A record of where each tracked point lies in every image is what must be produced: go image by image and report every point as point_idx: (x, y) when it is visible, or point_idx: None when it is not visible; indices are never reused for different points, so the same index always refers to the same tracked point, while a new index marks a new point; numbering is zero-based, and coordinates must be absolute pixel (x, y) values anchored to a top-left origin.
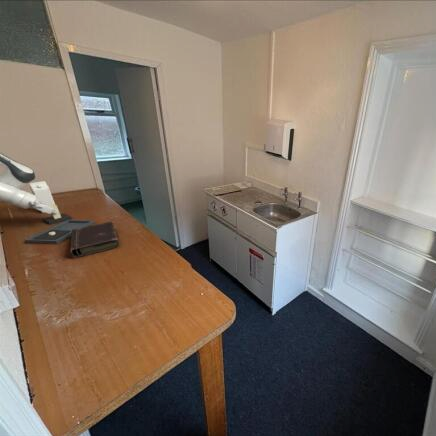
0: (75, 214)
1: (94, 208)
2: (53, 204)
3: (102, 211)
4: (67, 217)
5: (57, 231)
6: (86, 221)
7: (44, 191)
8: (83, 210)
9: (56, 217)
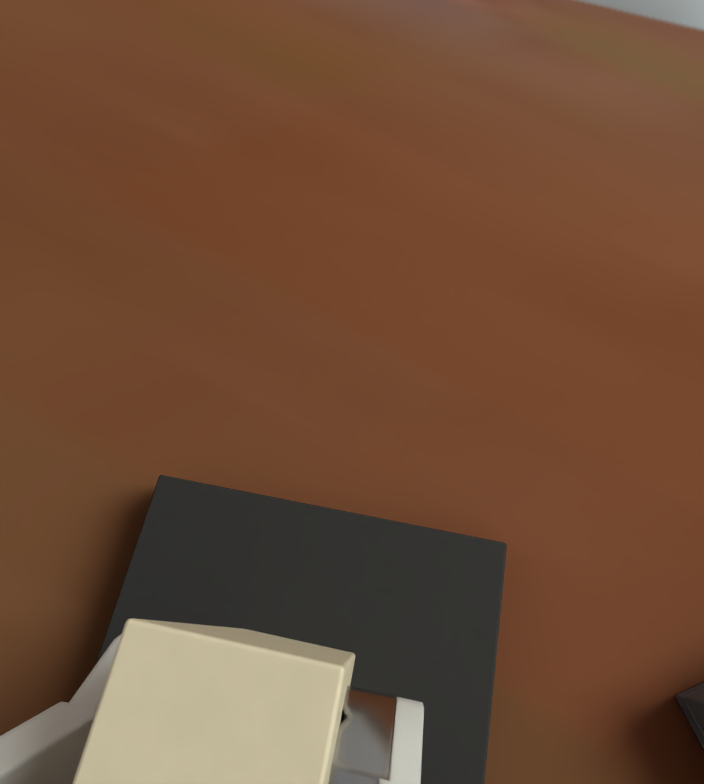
0: (311, 385)
1: (306, 123)
2: (119, 665)
3: (555, 144)
4: (468, 589)
5: None
6: None
7: None
8: (238, 229)
9: None
